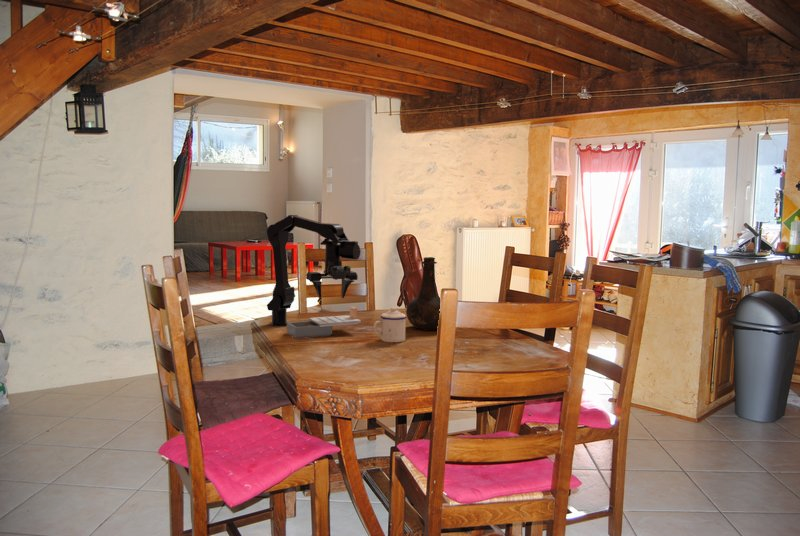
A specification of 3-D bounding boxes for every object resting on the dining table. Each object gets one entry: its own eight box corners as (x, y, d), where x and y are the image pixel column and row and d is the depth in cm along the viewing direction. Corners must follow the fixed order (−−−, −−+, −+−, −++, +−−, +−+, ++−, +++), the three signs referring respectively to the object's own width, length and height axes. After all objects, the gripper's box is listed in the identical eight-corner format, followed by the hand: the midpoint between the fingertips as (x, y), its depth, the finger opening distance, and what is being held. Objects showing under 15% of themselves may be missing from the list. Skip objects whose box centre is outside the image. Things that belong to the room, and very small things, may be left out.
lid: (309, 321, 240) (309, 307, 240) (349, 318, 247) (349, 305, 247) (320, 326, 230) (320, 312, 229) (361, 323, 237) (361, 309, 237)
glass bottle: (452, 333, 241) (454, 259, 238) (405, 332, 242) (407, 258, 239) (450, 324, 259) (451, 255, 256) (406, 323, 259) (407, 255, 257)
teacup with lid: (399, 336, 234) (400, 305, 232) (409, 341, 225) (410, 309, 224) (369, 338, 229) (369, 306, 228) (377, 344, 221) (378, 311, 220)
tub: (286, 333, 236) (286, 322, 235) (322, 330, 242) (322, 320, 242) (295, 338, 227) (295, 327, 227) (332, 335, 233) (332, 324, 233)
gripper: (316, 260, 227) (315, 303, 229) (364, 259, 236) (362, 301, 238) (306, 256, 237) (305, 298, 239) (352, 256, 246) (350, 296, 248)
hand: (331, 298), depth 241 cm, fingers open, 9 cm apart
